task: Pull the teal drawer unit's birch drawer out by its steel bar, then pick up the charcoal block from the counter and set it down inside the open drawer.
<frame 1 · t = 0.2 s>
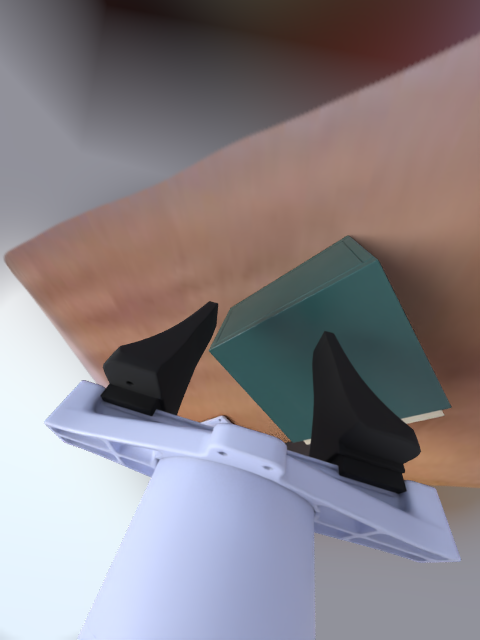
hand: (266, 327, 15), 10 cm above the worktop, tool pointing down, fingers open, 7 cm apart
block: (305, 448, 38), on the worktop
drawer: (340, 379, 24), point 4 cm above the worktop, slide at 0.8 cm
cabinet: (314, 325, 26), on the worktop
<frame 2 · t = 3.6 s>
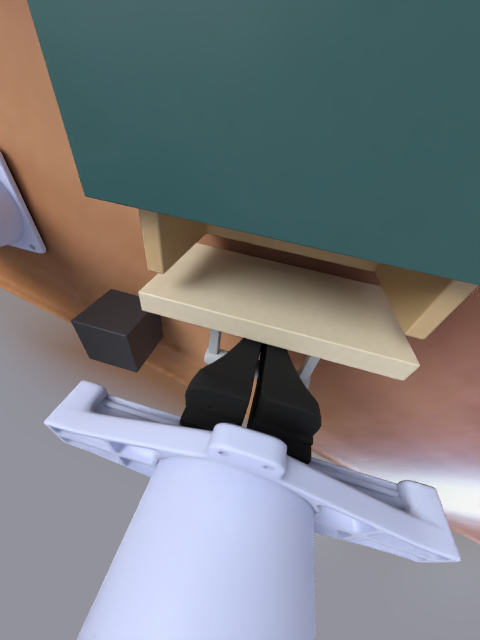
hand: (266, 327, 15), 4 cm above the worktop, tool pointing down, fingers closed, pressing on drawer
block: (138, 314, 23), on the worktop
drawer: (294, 234, 11), point 4 cm above the worktop, slide at 4.2 cm, touching gripper
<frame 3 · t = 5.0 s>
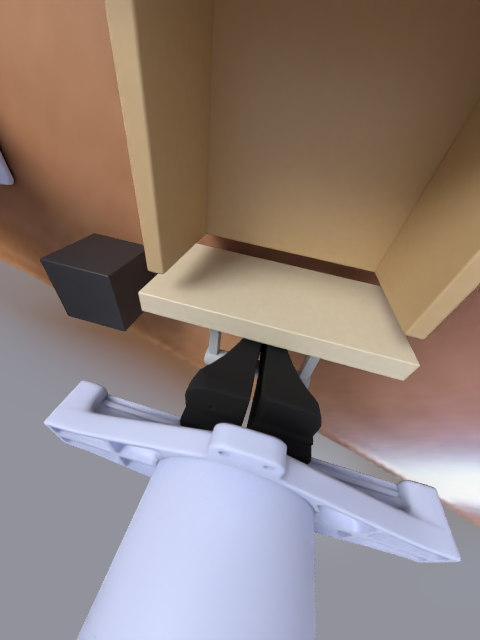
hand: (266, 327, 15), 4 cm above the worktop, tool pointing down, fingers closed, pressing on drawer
block: (128, 267, 20), on the worktop
drawer: (294, 234, 11), point 4 cm above the worktop, slide at 9.7 cm, touching gripper
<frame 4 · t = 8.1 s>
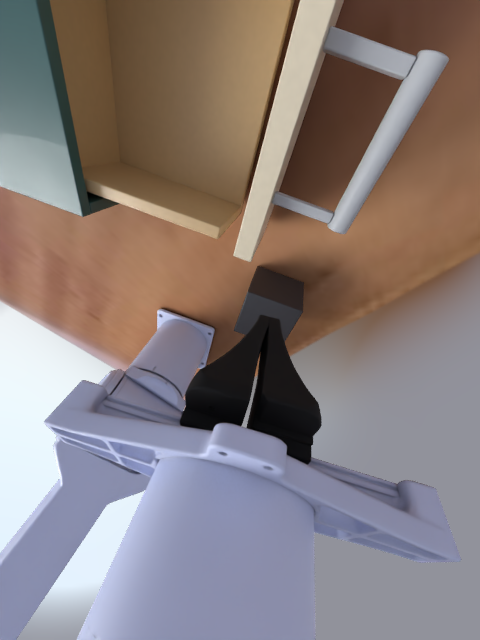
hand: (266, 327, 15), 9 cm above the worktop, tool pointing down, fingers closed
block: (272, 293, 24), on the worktop
drawer: (223, 106, 12), point 4 cm above the worktop, slide at 9.7 cm
cabinet: (56, 45, 15), on the worktop
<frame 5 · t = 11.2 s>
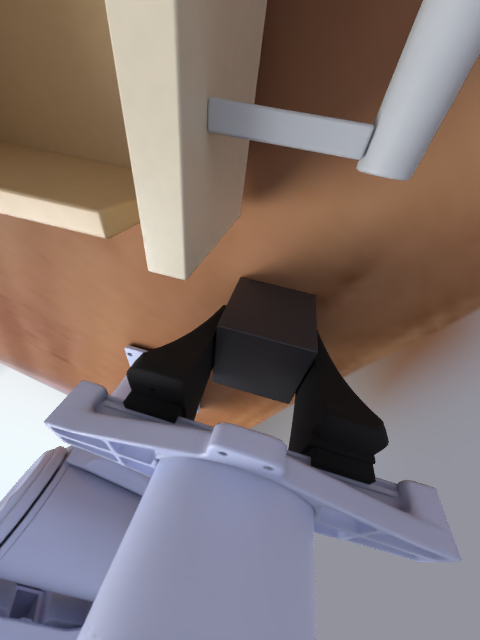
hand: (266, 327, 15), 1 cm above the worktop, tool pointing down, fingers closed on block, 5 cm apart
block: (269, 314, 16), on the worktop, touching gripper
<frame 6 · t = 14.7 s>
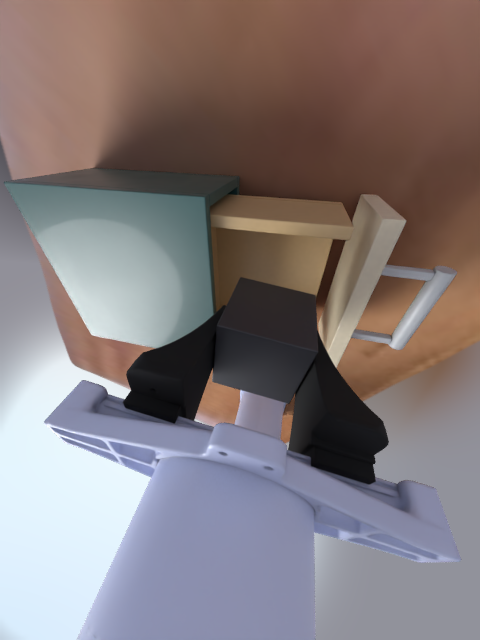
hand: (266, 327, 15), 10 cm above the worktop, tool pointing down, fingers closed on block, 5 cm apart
block: (269, 314, 16), point 9 cm above the worktop, touching gripper
drawer: (301, 285, 19), point 4 cm above the worktop, slide at 9.7 cm
cabinet: (175, 249, 25), on the worktop
when the fingers open (3 cm above the worktop, at t = 18.2 s): block stays where it is, resting on drawer.
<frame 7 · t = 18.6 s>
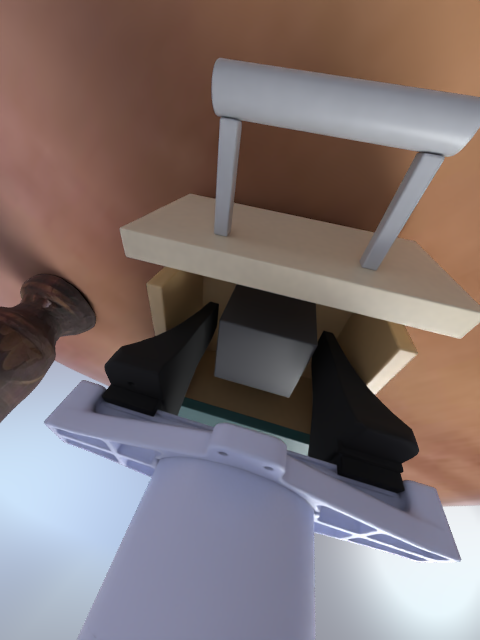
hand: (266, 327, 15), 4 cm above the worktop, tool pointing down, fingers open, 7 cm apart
block: (269, 311, 16), point 2 cm above the worktop, touching drawer
drawer: (273, 307, 13), point 4 cm above the worktop, slide at 9.7 cm, touching block, gripper
cabinet: (249, 379, 25), on the worktop
mortar and pestle: (67, 291, 23), on the worktop
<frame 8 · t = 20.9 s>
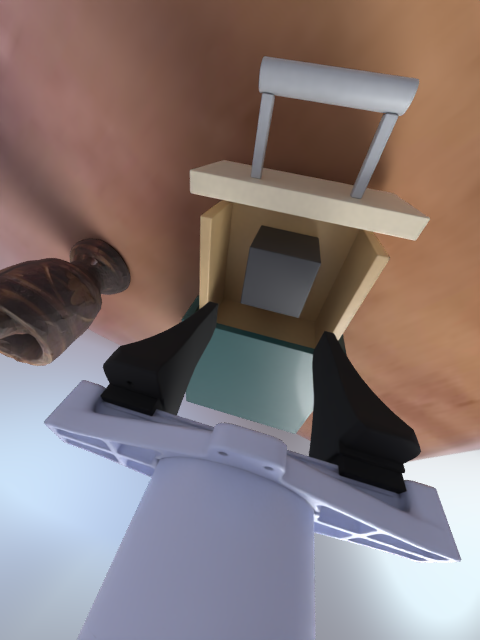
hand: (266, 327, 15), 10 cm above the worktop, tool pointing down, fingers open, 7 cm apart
block: (282, 258, 20), point 2 cm above the worktop, touching drawer
drawer: (287, 245, 17), point 4 cm above the worktop, slide at 9.7 cm, touching block
cabinet: (261, 333, 30), on the worktop
mortar and pestle: (107, 255, 28), on the worktop
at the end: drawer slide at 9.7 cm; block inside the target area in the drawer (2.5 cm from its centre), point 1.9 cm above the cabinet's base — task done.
